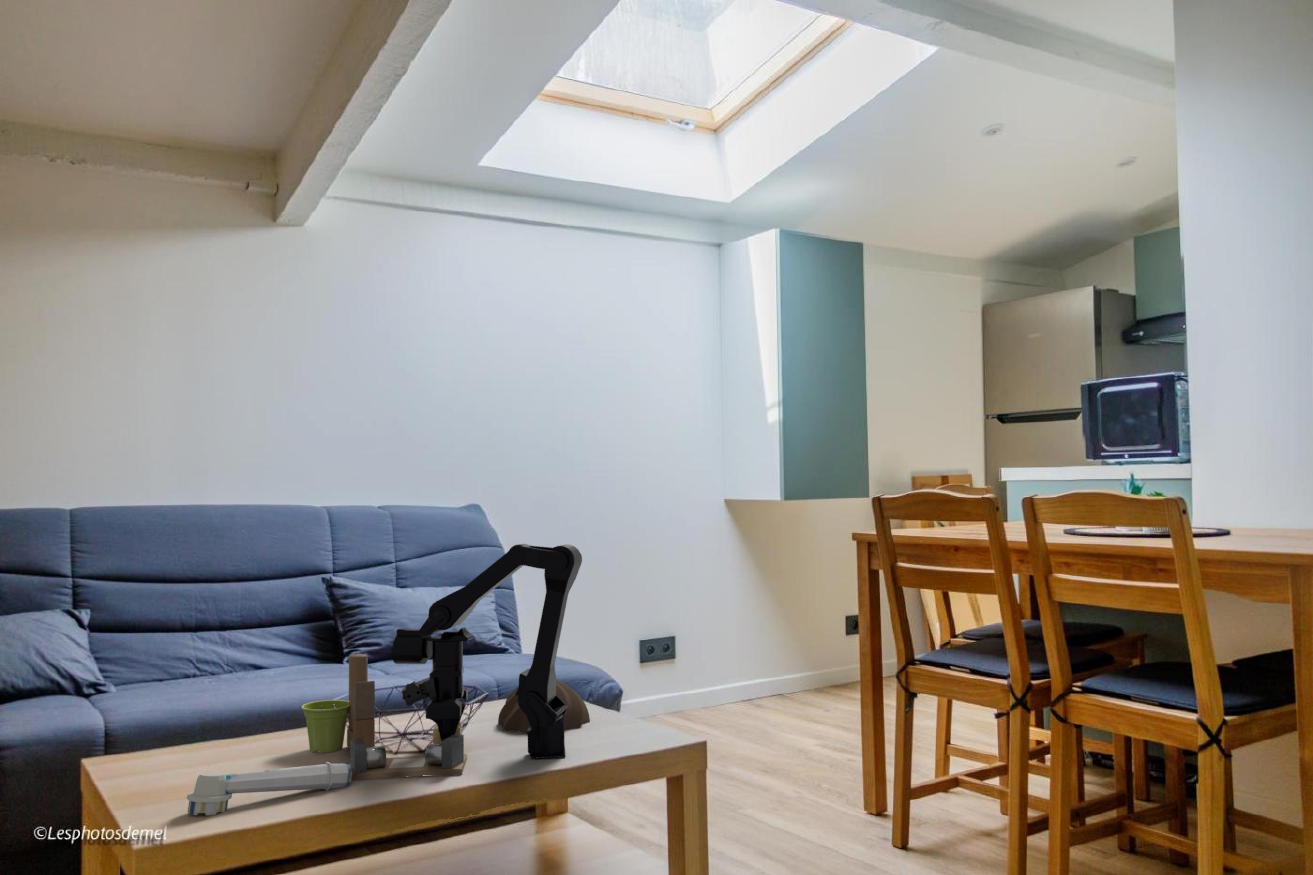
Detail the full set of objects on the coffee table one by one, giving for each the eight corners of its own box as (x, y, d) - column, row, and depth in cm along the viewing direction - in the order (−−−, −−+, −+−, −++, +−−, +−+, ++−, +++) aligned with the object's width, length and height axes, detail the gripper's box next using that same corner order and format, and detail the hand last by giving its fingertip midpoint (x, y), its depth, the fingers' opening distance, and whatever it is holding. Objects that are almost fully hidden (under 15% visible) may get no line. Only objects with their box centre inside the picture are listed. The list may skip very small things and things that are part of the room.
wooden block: (355, 759, 180) (355, 662, 182) (346, 746, 190) (346, 654, 191) (375, 756, 182) (375, 660, 183) (365, 744, 192) (365, 652, 193)
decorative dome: (546, 739, 194) (545, 688, 195) (479, 726, 206) (478, 679, 207) (607, 721, 210) (607, 674, 210) (542, 710, 222) (541, 666, 222)
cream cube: (462, 748, 187) (462, 722, 187) (460, 755, 182) (459, 728, 182) (436, 749, 186) (436, 723, 187) (433, 756, 181) (433, 729, 182)
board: (466, 759, 179) (466, 753, 179) (461, 774, 169) (461, 768, 169) (355, 764, 176) (355, 759, 176) (344, 780, 166) (344, 774, 166)
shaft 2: (423, 767, 170) (423, 740, 170) (435, 760, 174) (435, 733, 175) (452, 769, 168) (451, 741, 169) (463, 762, 173) (463, 734, 173)
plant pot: (344, 741, 195) (345, 697, 195) (357, 750, 187) (357, 705, 187) (296, 748, 190) (296, 703, 190) (307, 758, 182) (307, 711, 182)
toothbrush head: (354, 765, 162) (196, 771, 147) (349, 806, 161) (189, 817, 146) (343, 759, 167) (188, 764, 151) (337, 799, 166) (181, 809, 150)
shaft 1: (381, 763, 173) (381, 736, 174) (386, 769, 169) (386, 741, 169) (350, 767, 171) (350, 740, 171) (354, 774, 167) (354, 745, 167)
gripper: (411, 658, 194) (411, 737, 192) (397, 674, 175) (397, 761, 174) (467, 656, 195) (468, 734, 194) (459, 671, 176) (459, 758, 175)
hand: (447, 746), depth 184 cm, fingers closed on cream cube, 5 cm apart
